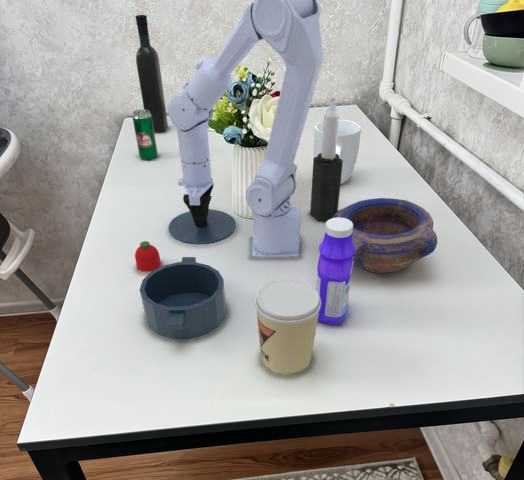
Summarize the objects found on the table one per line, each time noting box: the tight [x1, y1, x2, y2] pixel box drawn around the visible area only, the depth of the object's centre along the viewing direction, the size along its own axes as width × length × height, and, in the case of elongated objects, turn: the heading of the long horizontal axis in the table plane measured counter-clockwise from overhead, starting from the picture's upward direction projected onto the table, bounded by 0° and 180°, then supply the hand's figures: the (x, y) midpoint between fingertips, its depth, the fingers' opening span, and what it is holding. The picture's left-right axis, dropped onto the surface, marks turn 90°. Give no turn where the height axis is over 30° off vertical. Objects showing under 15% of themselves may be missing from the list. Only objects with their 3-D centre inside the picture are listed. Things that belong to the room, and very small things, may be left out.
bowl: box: [332, 197, 438, 274], centre depth 94 cm, size 18×18×10 cm
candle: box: [309, 95, 343, 223], centre depth 103 cm, size 5×5×25 cm
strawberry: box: [134, 240, 162, 273], centre depth 94 cm, size 5×5×5 cm
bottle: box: [315, 217, 355, 325], centre depth 79 cm, size 7×6×17 cm
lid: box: [168, 208, 237, 245], centre depth 105 cm, size 15×15×6 cm
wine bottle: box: [135, 14, 169, 134], centre depth 143 cm, size 6×6×30 cm
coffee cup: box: [254, 278, 321, 375], centre depth 73 cm, size 9×9×12 cm
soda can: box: [132, 108, 158, 161], centre depth 133 cm, size 5×5×12 cm
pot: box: [139, 256, 227, 340], centre depth 83 cm, size 14×19×6 cm
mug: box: [313, 118, 362, 185], centre depth 119 cm, size 15×11×13 cm
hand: (201, 221), depth 106 cm, fingers open, 4 cm apart
